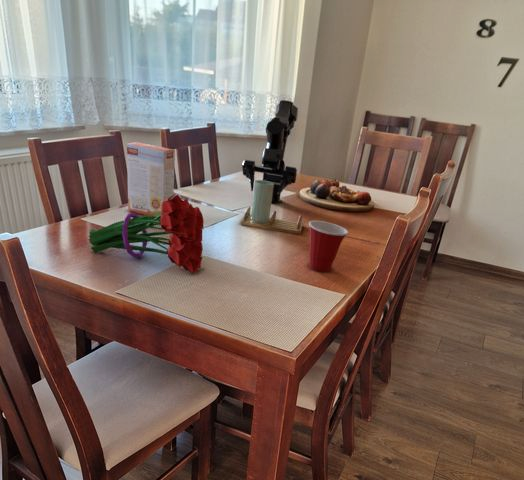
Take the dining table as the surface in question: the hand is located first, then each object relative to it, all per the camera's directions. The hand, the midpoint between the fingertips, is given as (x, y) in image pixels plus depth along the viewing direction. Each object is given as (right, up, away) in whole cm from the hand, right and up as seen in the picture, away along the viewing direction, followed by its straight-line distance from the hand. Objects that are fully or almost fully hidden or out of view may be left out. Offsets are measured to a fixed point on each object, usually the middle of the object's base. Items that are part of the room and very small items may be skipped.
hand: (265, 192), depth 164 cm
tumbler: (-2, -10, -1) cm, 10 cm away
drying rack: (+2, -11, -1) cm, 12 cm away
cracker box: (-38, -9, -7) cm, 39 cm away
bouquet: (-31, -31, -41) cm, 60 cm away
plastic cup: (+15, -31, -30) cm, 46 cm away
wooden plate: (+30, +9, +40) cm, 51 cm away
